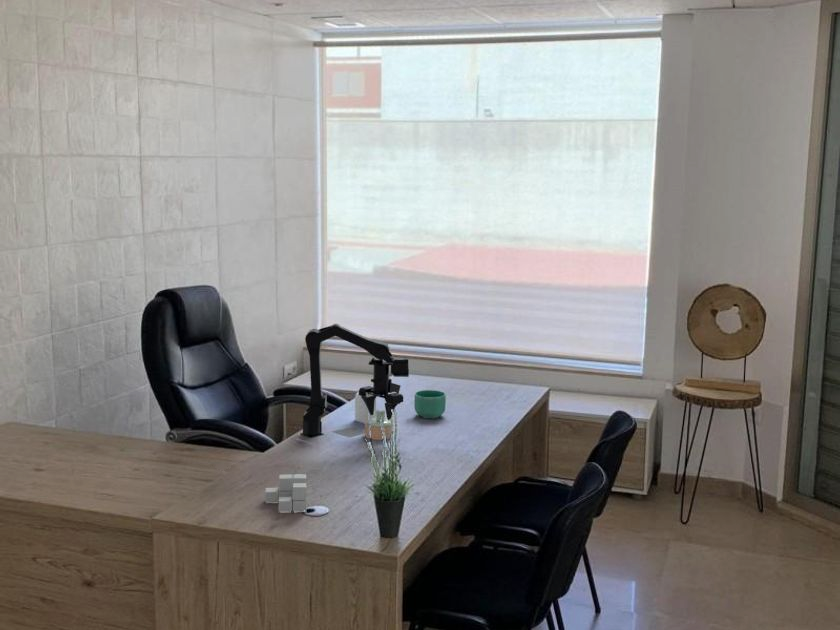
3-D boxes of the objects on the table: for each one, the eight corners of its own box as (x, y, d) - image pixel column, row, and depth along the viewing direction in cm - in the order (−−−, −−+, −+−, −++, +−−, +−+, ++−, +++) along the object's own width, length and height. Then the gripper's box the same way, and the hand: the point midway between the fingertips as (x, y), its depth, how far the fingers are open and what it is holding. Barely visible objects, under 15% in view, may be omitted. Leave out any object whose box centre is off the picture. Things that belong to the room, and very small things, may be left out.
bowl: (379, 442, 346) (379, 429, 345) (359, 436, 353) (359, 423, 353) (401, 436, 354) (401, 423, 353) (380, 430, 361) (380, 418, 360)
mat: (349, 438, 351) (349, 437, 351) (331, 432, 357) (331, 431, 357) (369, 433, 358) (369, 432, 358) (351, 427, 365) (351, 426, 365)
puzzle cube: (265, 500, 284) (265, 474, 283) (305, 499, 286) (306, 473, 284) (264, 514, 272) (264, 488, 271) (306, 513, 274) (306, 487, 273)
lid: (379, 428, 346) (380, 415, 345) (361, 423, 353) (361, 410, 352) (399, 423, 353) (399, 411, 352) (380, 418, 360) (381, 406, 359)
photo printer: (353, 420, 375) (353, 390, 373) (362, 419, 378) (362, 388, 376) (368, 426, 367) (369, 395, 365) (377, 424, 370) (378, 393, 368)
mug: (440, 421, 376) (440, 398, 375) (410, 418, 380) (410, 395, 379) (451, 411, 392) (451, 389, 391) (422, 409, 396) (422, 386, 394)
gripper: (414, 377, 349) (413, 418, 352) (379, 369, 362) (378, 409, 365) (392, 381, 342) (391, 423, 344) (357, 373, 354) (357, 413, 357)
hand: (380, 417), depth 352 cm, fingers open, 9 cm apart
